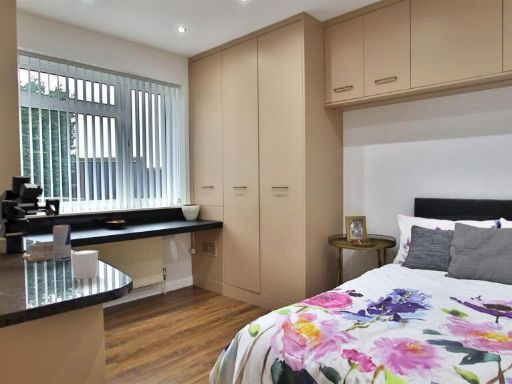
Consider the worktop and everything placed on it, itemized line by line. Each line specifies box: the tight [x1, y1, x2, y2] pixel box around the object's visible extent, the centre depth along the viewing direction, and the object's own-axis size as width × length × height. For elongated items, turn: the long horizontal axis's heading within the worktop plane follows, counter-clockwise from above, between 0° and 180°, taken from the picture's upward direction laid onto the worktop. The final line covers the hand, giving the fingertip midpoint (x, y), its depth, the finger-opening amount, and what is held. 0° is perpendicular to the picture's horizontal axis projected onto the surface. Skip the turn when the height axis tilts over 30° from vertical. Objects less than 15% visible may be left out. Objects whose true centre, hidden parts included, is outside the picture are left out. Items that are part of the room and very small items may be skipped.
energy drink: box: [52, 224, 72, 262], centre depth 123 cm, size 5×5×12 cm
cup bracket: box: [22, 241, 54, 263], centre depth 128 cm, size 11×11×5 cm
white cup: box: [71, 249, 99, 280], centre depth 101 cm, size 7×7×7 cm
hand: (40, 213), depth 123 cm, fingers open, 9 cm apart
